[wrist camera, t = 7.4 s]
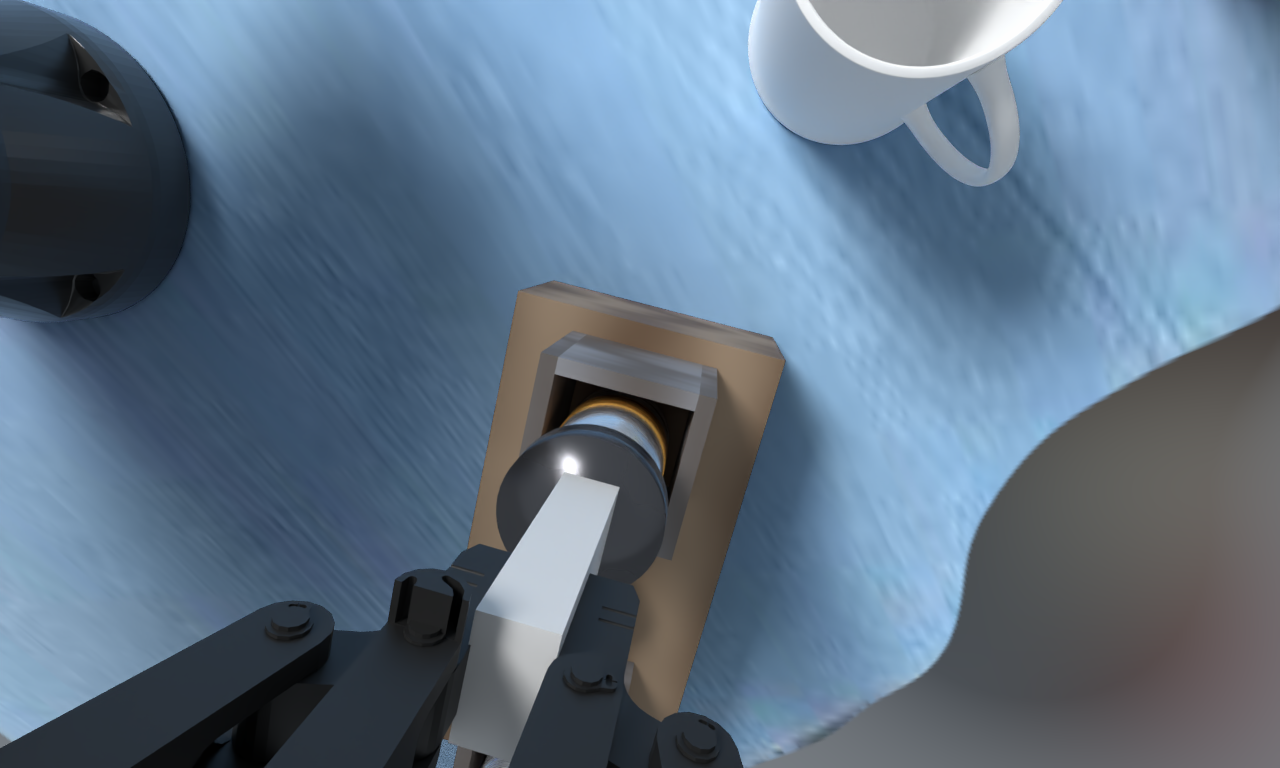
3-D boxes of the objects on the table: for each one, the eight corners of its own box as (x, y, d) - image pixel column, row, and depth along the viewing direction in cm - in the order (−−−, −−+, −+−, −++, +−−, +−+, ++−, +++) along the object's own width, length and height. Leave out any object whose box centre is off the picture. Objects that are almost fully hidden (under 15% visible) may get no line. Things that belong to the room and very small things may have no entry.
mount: (474, 657, 38) (379, 825, 27) (553, 280, 32) (474, 303, 22) (660, 711, 37) (638, 905, 26) (772, 337, 32) (801, 390, 21)
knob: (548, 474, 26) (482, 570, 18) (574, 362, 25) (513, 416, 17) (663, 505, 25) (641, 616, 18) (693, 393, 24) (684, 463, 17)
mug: (1008, 156, 29) (1206, 104, 17) (824, 245, 31) (892, 252, 19) (904, -112, 27) (1047, -372, 15) (715, -2, 29) (716, -162, 17)
